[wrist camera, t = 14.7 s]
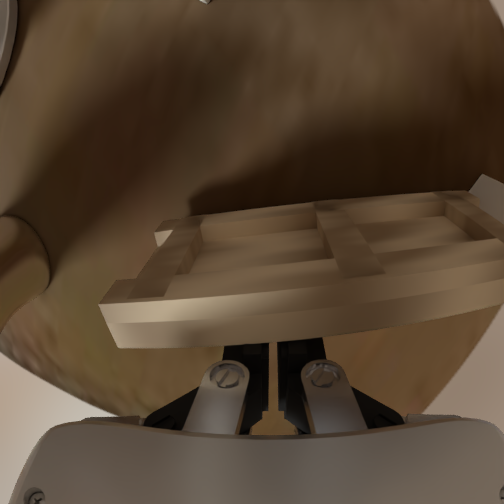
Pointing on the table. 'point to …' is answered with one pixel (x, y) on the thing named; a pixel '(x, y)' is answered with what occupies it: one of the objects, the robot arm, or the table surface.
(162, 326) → the gate
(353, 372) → the table surface
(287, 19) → the table surface
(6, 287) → the beer glass
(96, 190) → the table surface
